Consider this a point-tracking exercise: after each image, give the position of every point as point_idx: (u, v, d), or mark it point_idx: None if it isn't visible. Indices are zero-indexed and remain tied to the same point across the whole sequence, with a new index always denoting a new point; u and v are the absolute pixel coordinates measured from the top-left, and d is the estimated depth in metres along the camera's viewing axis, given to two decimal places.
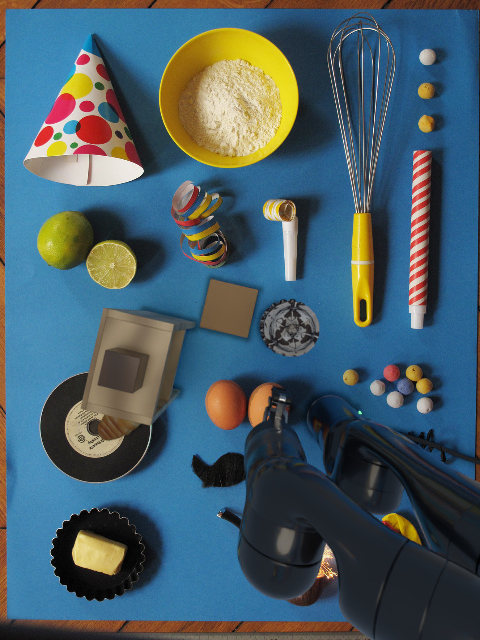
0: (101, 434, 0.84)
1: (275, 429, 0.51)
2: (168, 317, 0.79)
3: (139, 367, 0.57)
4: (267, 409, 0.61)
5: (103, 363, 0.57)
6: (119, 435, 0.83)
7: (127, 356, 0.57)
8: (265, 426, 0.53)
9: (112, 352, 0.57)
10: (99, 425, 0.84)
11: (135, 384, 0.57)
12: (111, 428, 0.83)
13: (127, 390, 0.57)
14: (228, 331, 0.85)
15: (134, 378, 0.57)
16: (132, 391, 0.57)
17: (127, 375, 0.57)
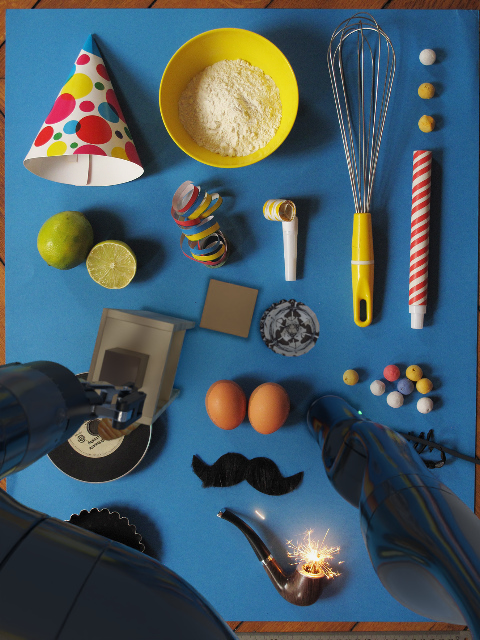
0: (101, 434, 0.84)
1: (61, 419, 0.31)
2: (168, 317, 0.79)
3: (139, 367, 0.57)
4: (109, 388, 0.41)
5: (103, 363, 0.57)
6: (119, 435, 0.83)
7: (127, 356, 0.57)
8: (70, 398, 0.33)
9: (112, 352, 0.57)
10: (99, 425, 0.84)
11: (135, 384, 0.57)
12: (111, 428, 0.83)
13: None
14: (228, 331, 0.85)
15: (134, 378, 0.57)
16: None
17: (127, 375, 0.57)
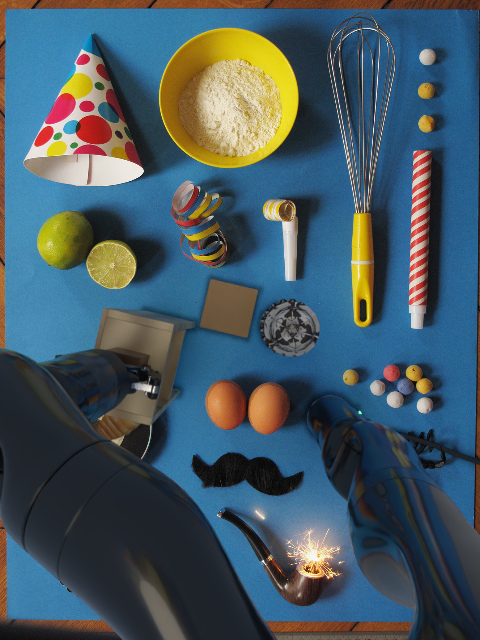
0: None
1: (115, 389, 0.44)
2: (168, 317, 0.79)
3: None
4: (138, 369, 0.54)
5: None
6: (119, 435, 0.83)
7: (127, 356, 0.57)
8: (120, 375, 0.46)
9: (112, 352, 0.57)
10: (99, 425, 0.84)
11: None
12: (111, 428, 0.83)
13: None
14: (228, 331, 0.85)
15: None
16: None
17: None
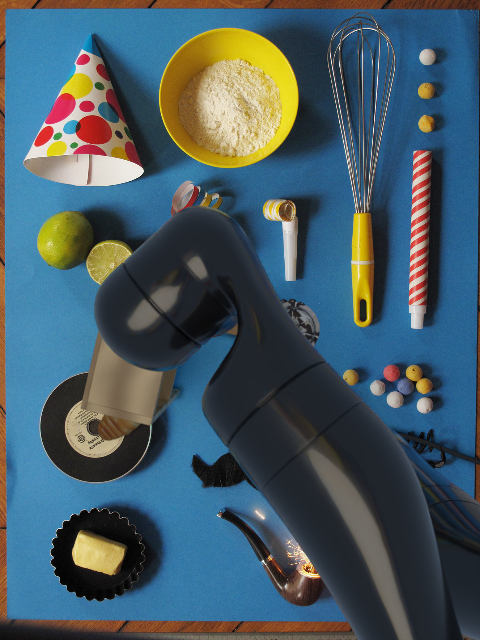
0: (101, 434, 0.84)
1: None
2: None
3: None
4: None
5: None
6: (119, 435, 0.83)
7: None
8: None
9: None
10: (99, 425, 0.84)
11: None
12: (111, 428, 0.83)
13: None
14: (228, 331, 0.85)
15: None
16: None
17: None
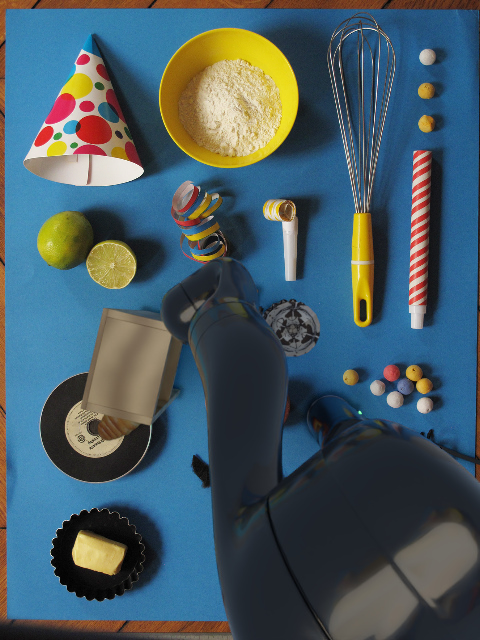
0: (101, 434, 0.84)
1: None
2: None
3: None
4: None
5: None
6: (119, 435, 0.83)
7: None
8: None
9: None
10: (99, 425, 0.84)
11: None
12: (111, 428, 0.83)
13: None
14: None
15: None
16: None
17: None
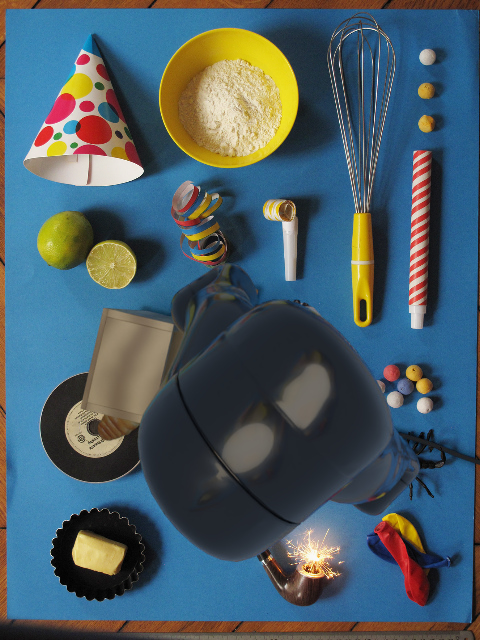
0: (101, 434, 0.84)
1: None
2: (168, 317, 0.79)
3: None
4: None
5: None
6: (119, 435, 0.83)
7: None
8: None
9: None
10: (99, 425, 0.84)
11: None
12: (111, 428, 0.83)
13: None
14: None
15: None
16: None
17: None
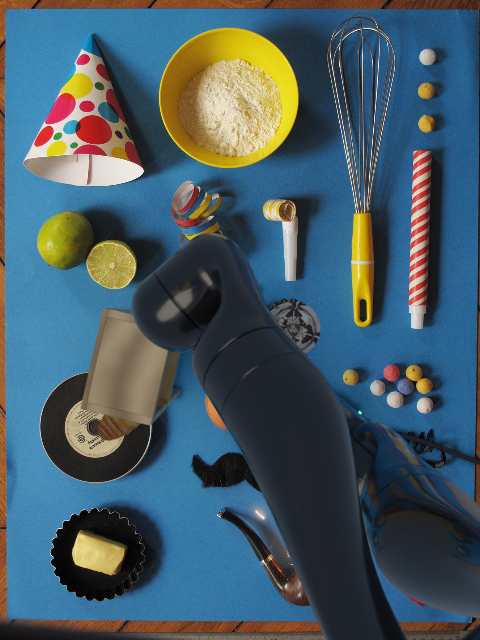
0: (101, 434, 0.84)
1: None
2: None
3: None
4: None
5: None
6: (119, 435, 0.83)
7: None
8: None
9: None
10: (99, 425, 0.84)
11: None
12: (111, 428, 0.83)
13: None
14: None
15: None
16: None
17: None
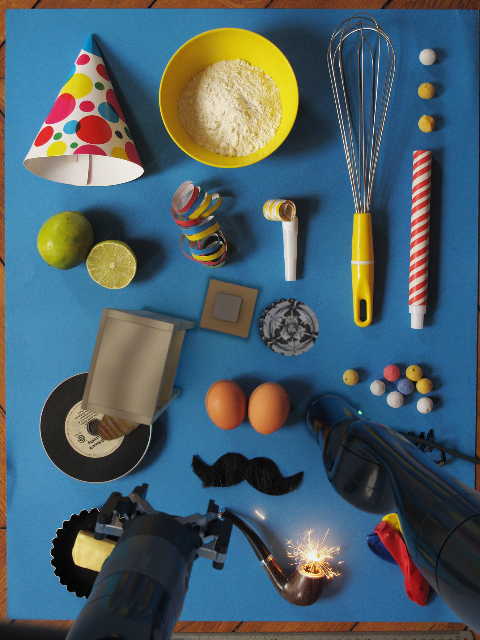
0: (101, 434, 0.84)
1: (187, 586, 0.35)
2: (168, 317, 0.79)
3: (240, 304, 0.80)
4: (203, 521, 0.46)
5: (215, 301, 0.80)
6: (119, 435, 0.83)
7: (232, 296, 0.80)
8: (188, 558, 0.38)
9: (222, 293, 0.80)
10: (99, 425, 0.84)
11: (238, 316, 0.80)
12: (111, 428, 0.83)
13: (233, 320, 0.80)
14: (228, 331, 0.85)
15: (237, 311, 0.80)
16: (236, 321, 0.80)
17: (232, 310, 0.80)
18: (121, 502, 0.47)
